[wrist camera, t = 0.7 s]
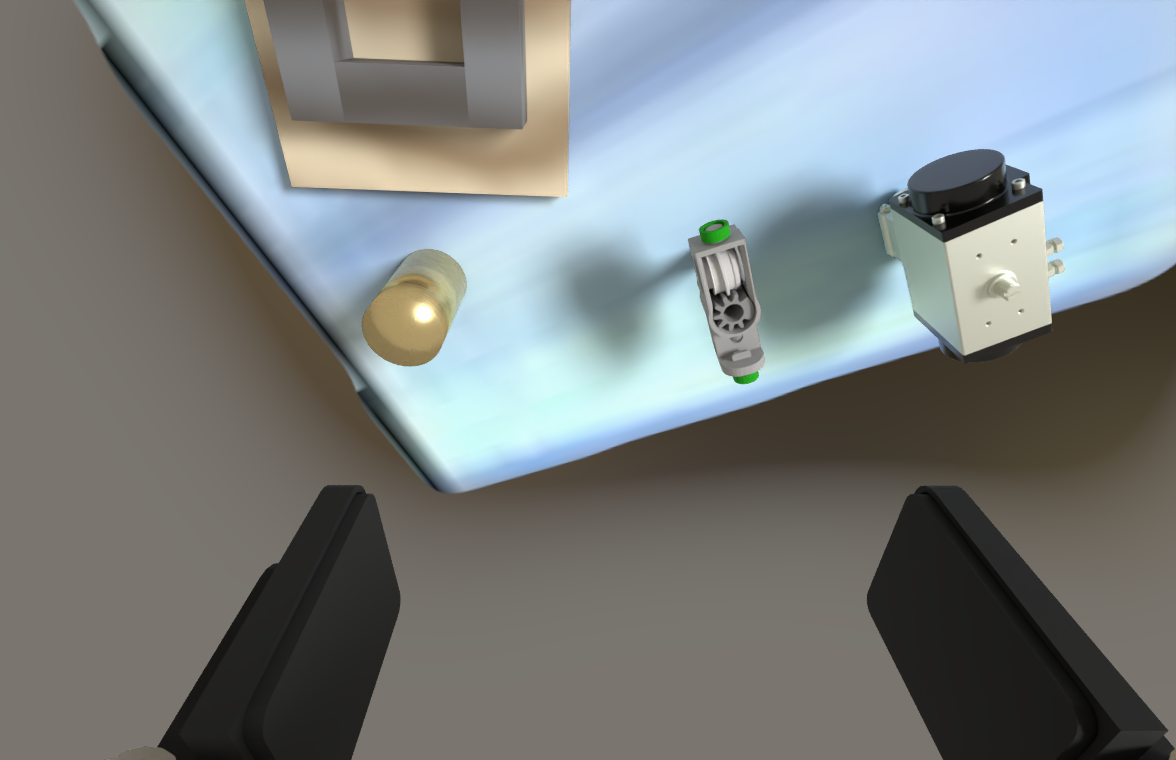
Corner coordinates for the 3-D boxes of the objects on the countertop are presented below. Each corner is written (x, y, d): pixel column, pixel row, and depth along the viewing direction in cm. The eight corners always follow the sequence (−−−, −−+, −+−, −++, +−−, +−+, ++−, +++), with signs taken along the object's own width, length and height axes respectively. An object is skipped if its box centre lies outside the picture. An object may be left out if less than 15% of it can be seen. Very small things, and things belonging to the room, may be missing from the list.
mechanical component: (700, 318, 43) (726, 391, 35) (667, 190, 38) (689, 241, 29) (738, 307, 43) (773, 379, 34) (710, 176, 37) (745, 223, 29)
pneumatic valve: (887, 302, 42) (978, 392, 32) (851, 159, 37) (949, 214, 27) (964, 271, 41) (1085, 355, 31) (939, 116, 35) (1078, 158, 25)
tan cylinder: (394, 247, 40) (354, 294, 33) (463, 250, 40) (437, 297, 33) (404, 310, 43) (369, 365, 36) (469, 312, 43) (446, 367, 36)
